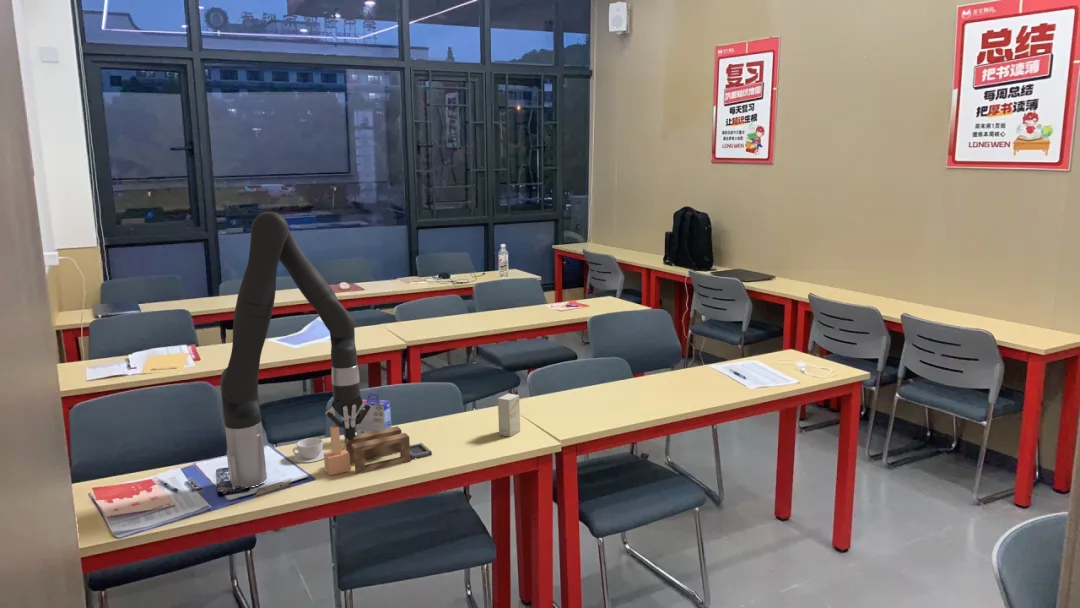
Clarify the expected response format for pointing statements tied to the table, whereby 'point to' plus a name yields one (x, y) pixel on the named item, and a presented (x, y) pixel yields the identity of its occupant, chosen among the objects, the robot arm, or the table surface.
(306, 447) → the teacup
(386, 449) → the tunnel
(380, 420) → the ink cartridge box
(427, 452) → the tray
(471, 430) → the table surface
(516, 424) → the skincare box
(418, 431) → the table surface
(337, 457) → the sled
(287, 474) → the table surface
